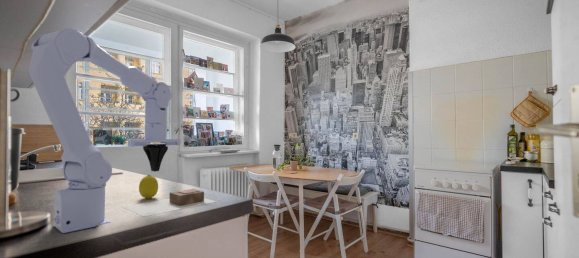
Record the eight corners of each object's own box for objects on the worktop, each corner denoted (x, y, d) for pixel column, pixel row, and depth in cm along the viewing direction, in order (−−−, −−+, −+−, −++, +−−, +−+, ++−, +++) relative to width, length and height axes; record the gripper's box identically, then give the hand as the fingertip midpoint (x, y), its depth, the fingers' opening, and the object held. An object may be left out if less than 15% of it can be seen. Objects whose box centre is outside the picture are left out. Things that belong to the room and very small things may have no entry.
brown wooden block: (180, 194, 86) (204, 190, 92) (169, 191, 90) (193, 188, 96) (179, 206, 86) (203, 201, 92) (169, 202, 90) (193, 198, 96)
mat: (143, 218, 75) (143, 216, 75) (121, 208, 84) (121, 206, 84) (216, 203, 92) (216, 201, 92) (191, 196, 101) (191, 194, 101)
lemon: (149, 202, 91) (149, 176, 91) (134, 201, 93) (135, 175, 93) (161, 198, 97) (162, 174, 97) (147, 197, 98) (148, 173, 98)
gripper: (172, 124, 95) (171, 167, 95) (123, 123, 84) (122, 171, 84) (184, 124, 90) (183, 169, 90) (134, 123, 79) (133, 174, 79)
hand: (155, 170), depth 87 cm, fingers closed
